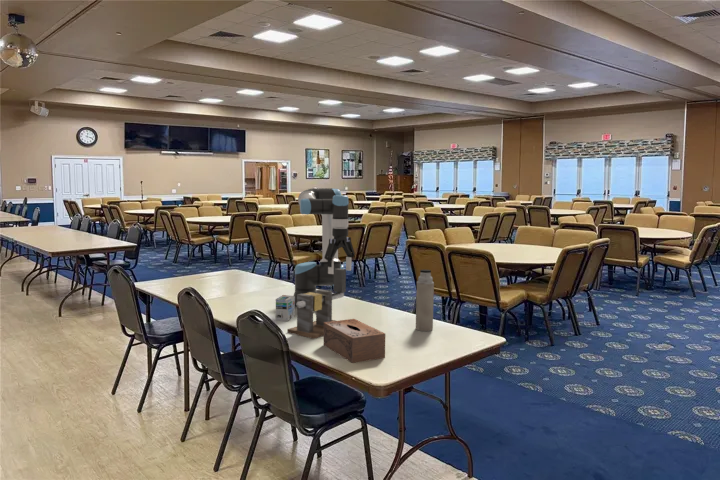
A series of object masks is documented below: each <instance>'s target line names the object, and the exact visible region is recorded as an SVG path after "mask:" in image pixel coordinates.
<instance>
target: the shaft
mask: <svg viewBox="0 0 720 480" xmlns="http://www.w3.org/2000/svg"><path fill="white" fill-rule="evenodd" d="M346 285H347V270H346V268H344V269H339V268H337V269H334V285H333V292H332V301H334V300H337V299H342V298H344V297H345V293H346V292H347V291H346V290H347V289H346V288H347V286H346ZM323 302H325V296H322V303H323ZM296 305H297V307H298V308H303V307H306V301H305V300H303V301H299V302H297V304H296ZM297 307H296V308H297Z"/></svg>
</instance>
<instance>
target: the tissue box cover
mask: <svg viewBox="0 0 720 480" xmlns="http://www.w3.org/2000/svg"><path fill="white" fill-rule="evenodd" d="M323 346H324V347H326V348H327V349H329V350H331V351H332V352H334V353H335V354H337V355H339V356H340V357H342V358H344V359H345V360H346V361H348V362H349V363H352V364H355V363H356V364H357V363H362V362H367V361H373V360H378V359H385V358H386V333H385V332H383V331H381V330H379V329H377V328H375V327H373V326H370V325H368V324H366V323H364V322H362V321H361V320H357V319H356V318H348V319H339V320H335V321H332V322H324V336H323Z"/></svg>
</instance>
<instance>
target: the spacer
mask: <svg viewBox="0 0 720 480" xmlns="http://www.w3.org/2000/svg"><path fill="white" fill-rule="evenodd" d="M305 294H307V295H313V312H316V311H318V310H321V309H322V294H318V293H312V292H309V293H305Z"/></svg>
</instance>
